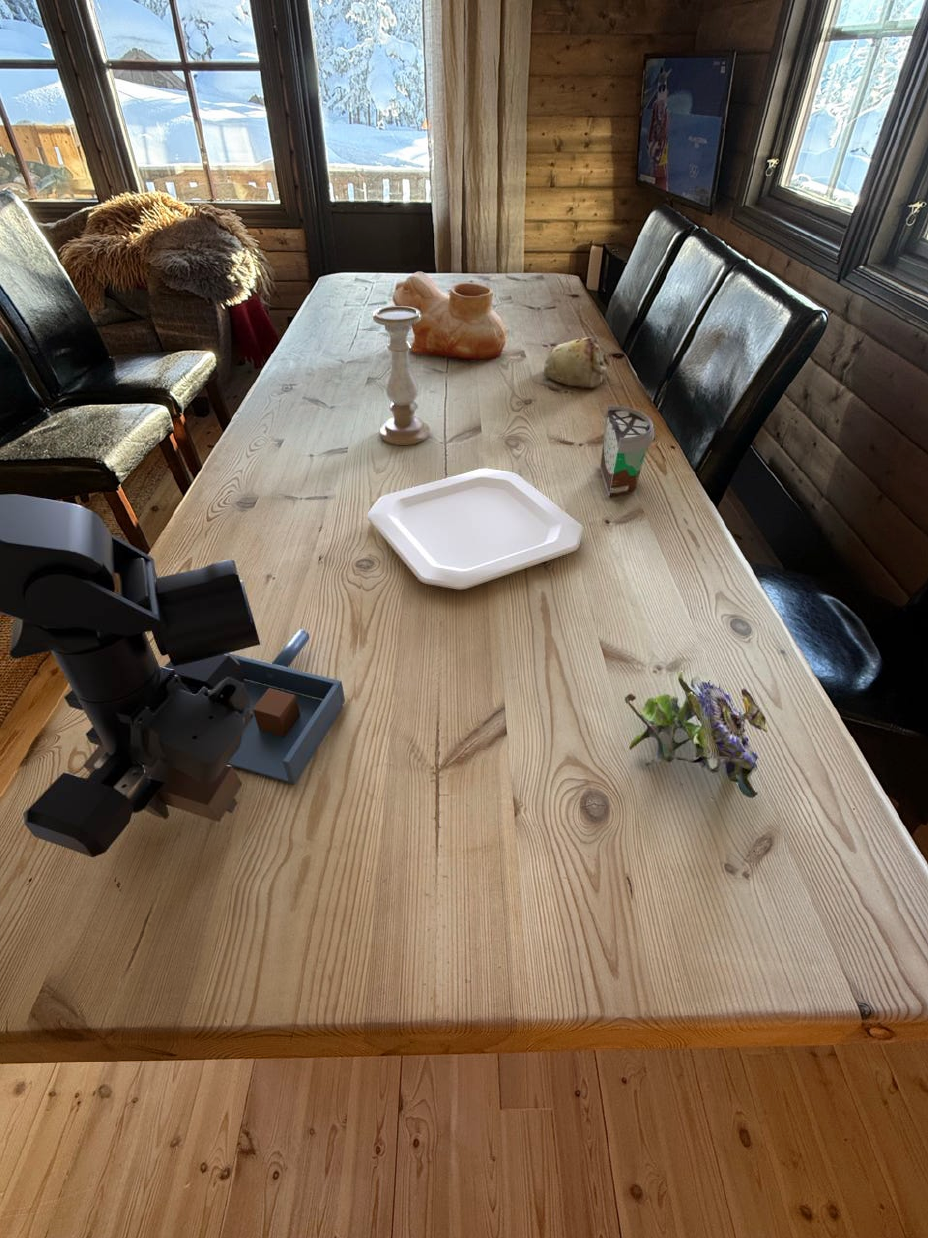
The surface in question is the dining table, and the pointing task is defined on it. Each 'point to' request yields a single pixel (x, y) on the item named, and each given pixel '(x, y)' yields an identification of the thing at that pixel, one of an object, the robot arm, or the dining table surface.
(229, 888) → the dining table surface
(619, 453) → the food container
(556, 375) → the pastry
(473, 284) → the ceramic vessel
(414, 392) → the candle holder
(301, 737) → the dustpan
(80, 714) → the dining table surface
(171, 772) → the brown long block
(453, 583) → the plate
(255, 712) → the crumb
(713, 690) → the passion flower
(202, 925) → the dining table surface
